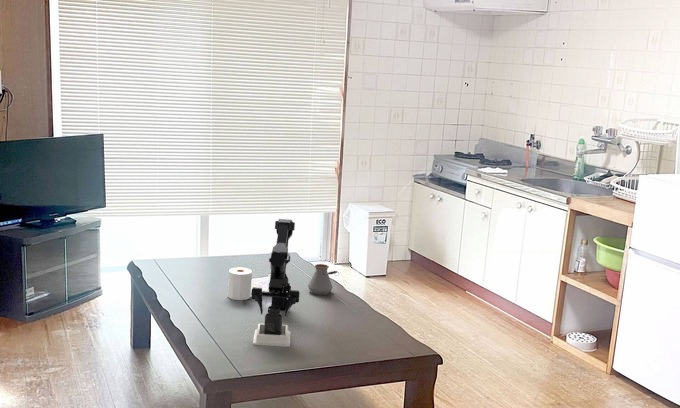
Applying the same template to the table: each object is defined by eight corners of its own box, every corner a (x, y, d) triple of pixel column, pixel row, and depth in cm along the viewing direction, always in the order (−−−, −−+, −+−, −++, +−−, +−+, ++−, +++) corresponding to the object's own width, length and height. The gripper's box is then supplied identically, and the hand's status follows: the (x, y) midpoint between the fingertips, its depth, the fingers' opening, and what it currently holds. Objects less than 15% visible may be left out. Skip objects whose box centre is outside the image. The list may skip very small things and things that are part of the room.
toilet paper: (235, 301, 320) (237, 275, 318) (223, 294, 328) (224, 269, 325) (255, 298, 327) (256, 272, 324) (242, 291, 334) (243, 266, 332)
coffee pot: (303, 289, 344) (305, 258, 341) (325, 287, 349) (327, 257, 346) (323, 304, 326) (325, 272, 323) (346, 302, 331) (348, 270, 328)
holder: (252, 344, 276) (253, 335, 275) (254, 330, 290) (255, 322, 289) (289, 346, 277) (290, 337, 276) (290, 332, 291) (290, 324, 290)
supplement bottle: (284, 337, 283) (286, 308, 281) (271, 341, 279) (273, 312, 276) (273, 332, 288) (275, 303, 286) (260, 335, 283) (261, 306, 281)
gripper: (253, 267, 283) (248, 304, 275) (301, 271, 284) (298, 307, 276) (254, 280, 293) (249, 316, 284) (300, 283, 293) (297, 319, 285)
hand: (273, 314), depth 282 cm, fingers open, 9 cm apart
